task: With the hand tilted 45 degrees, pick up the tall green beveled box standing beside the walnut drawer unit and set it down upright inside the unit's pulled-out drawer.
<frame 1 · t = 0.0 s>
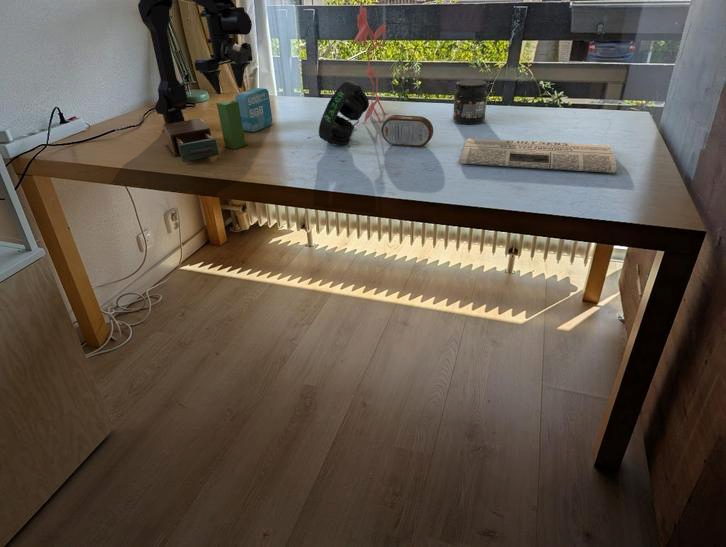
hand: (229, 91, 149), 15 cm above the table, tool pointing down, fingers open, 9 cm apart
figurine: (363, 118, 172), on the table
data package: (257, 128, 167), on the table
tin: (406, 146, 144), on the table
drawer: (196, 146, 141), point 3 cm above the table, slide at 8.0 cm
newspaper: (534, 158, 130), on the table
green beveled box: (235, 145, 151), on the table
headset: (338, 141, 150), on the table
supplement container: (468, 121, 163), on the table
cabinet: (190, 147, 152), on the table
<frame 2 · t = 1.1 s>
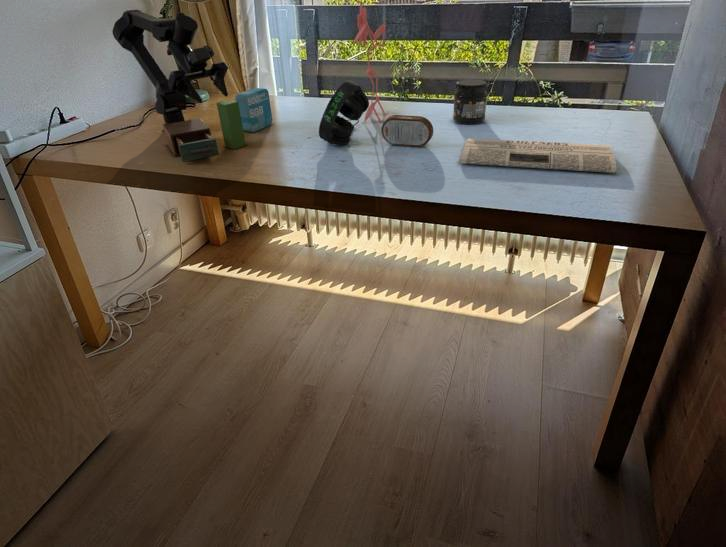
hand: (214, 98, 147), 13 cm above the table, tool tilted 45°, fingers open, 9 cm apart
nothing on the table moved.
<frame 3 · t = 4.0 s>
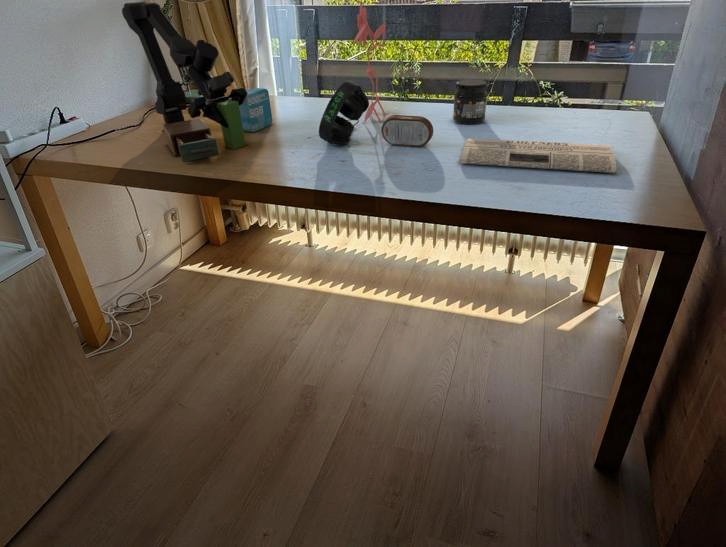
hand: (234, 125, 146), 7 cm above the table, tool tilted 45°, fingers closed on green beveled box, 4 cm apart
green beveled box: (235, 145, 151), on the table, touching gripper
everything else where it was.
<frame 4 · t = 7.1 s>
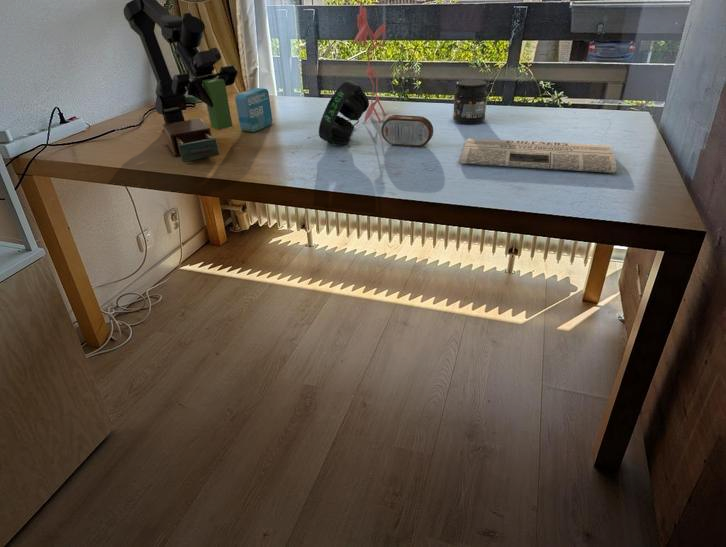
hand: (219, 104, 139), 14 cm above the table, tool tilted 45°, fingers closed on green beveled box, 4 cm apart
green beveled box: (222, 126, 143), point 7 cm above the table, touching gripper
everything else where it was.
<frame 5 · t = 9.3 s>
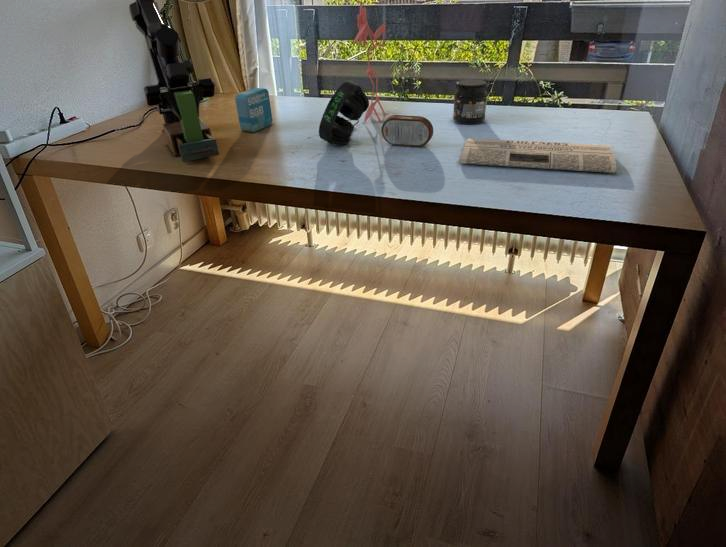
hand: (189, 117, 137), 11 cm above the table, tool tilted 45°, fingers closed on green beveled box, 4 cm apart
green beveled box: (194, 139, 141), point 5 cm above the table, touching gripper
everything else where it was.
when the fingers open (8 cm above the table, at t = 10.6 s): green beveled box stays where it is, resting on drawer.
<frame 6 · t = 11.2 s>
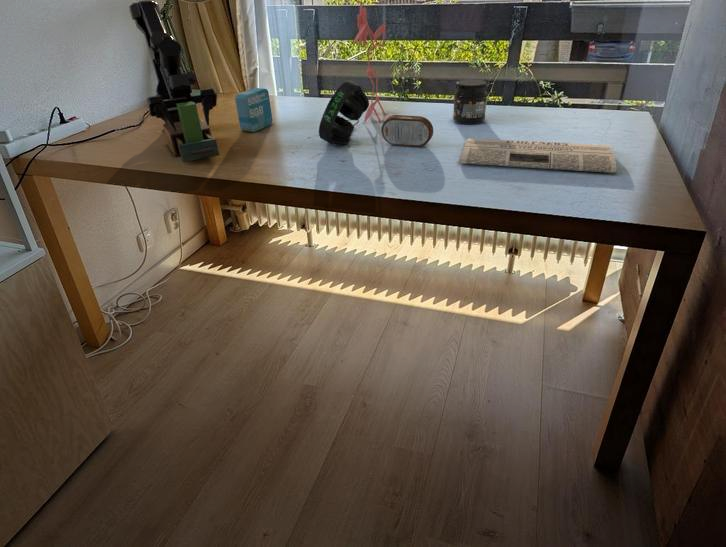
hand: (192, 127, 138), 9 cm above the table, tool tilted 45°, fingers open, 9 cm apart
drawer: (196, 146, 141), point 3 cm above the table, slide at 8.2 cm, touching green beveled box
green beveled box: (196, 149, 143), point 2 cm above the table, touching drawer
everything else where it was.
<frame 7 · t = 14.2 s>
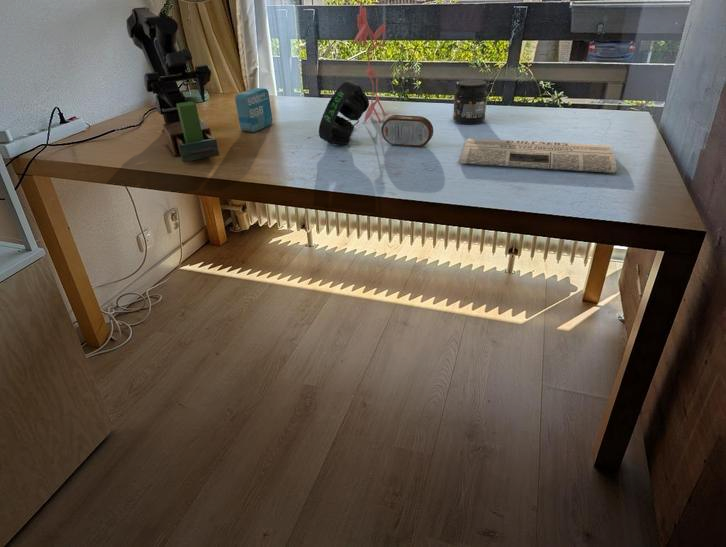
hand: (188, 104, 144), 13 cm above the table, tool tilted 40°, fingers open, 9 cm apart
nothing on the table moved.
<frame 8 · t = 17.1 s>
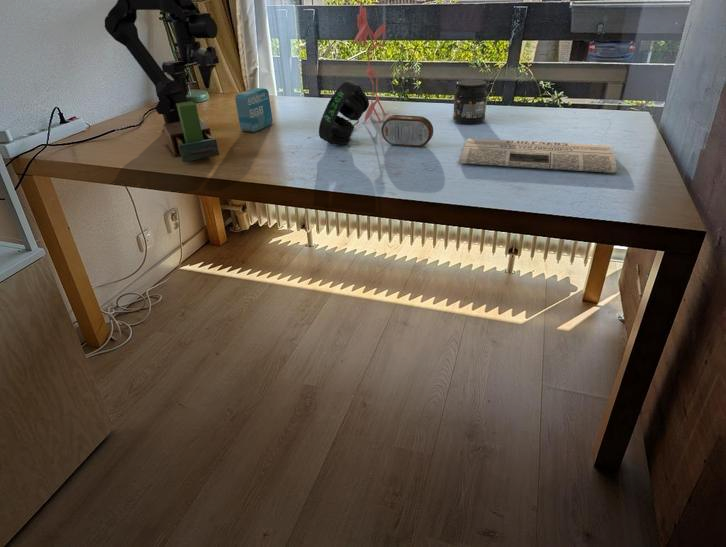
hand: (197, 91, 158), 13 cm above the table, tool pointing down, fingers open, 9 cm apart
nothing on the table moved.
at the end: green beveled box 0.1 cm from the target spot in the drawer, point 1.9 cm above the cabinet's base; green beveled box tilted 0°; the gripper is holding nothing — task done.
